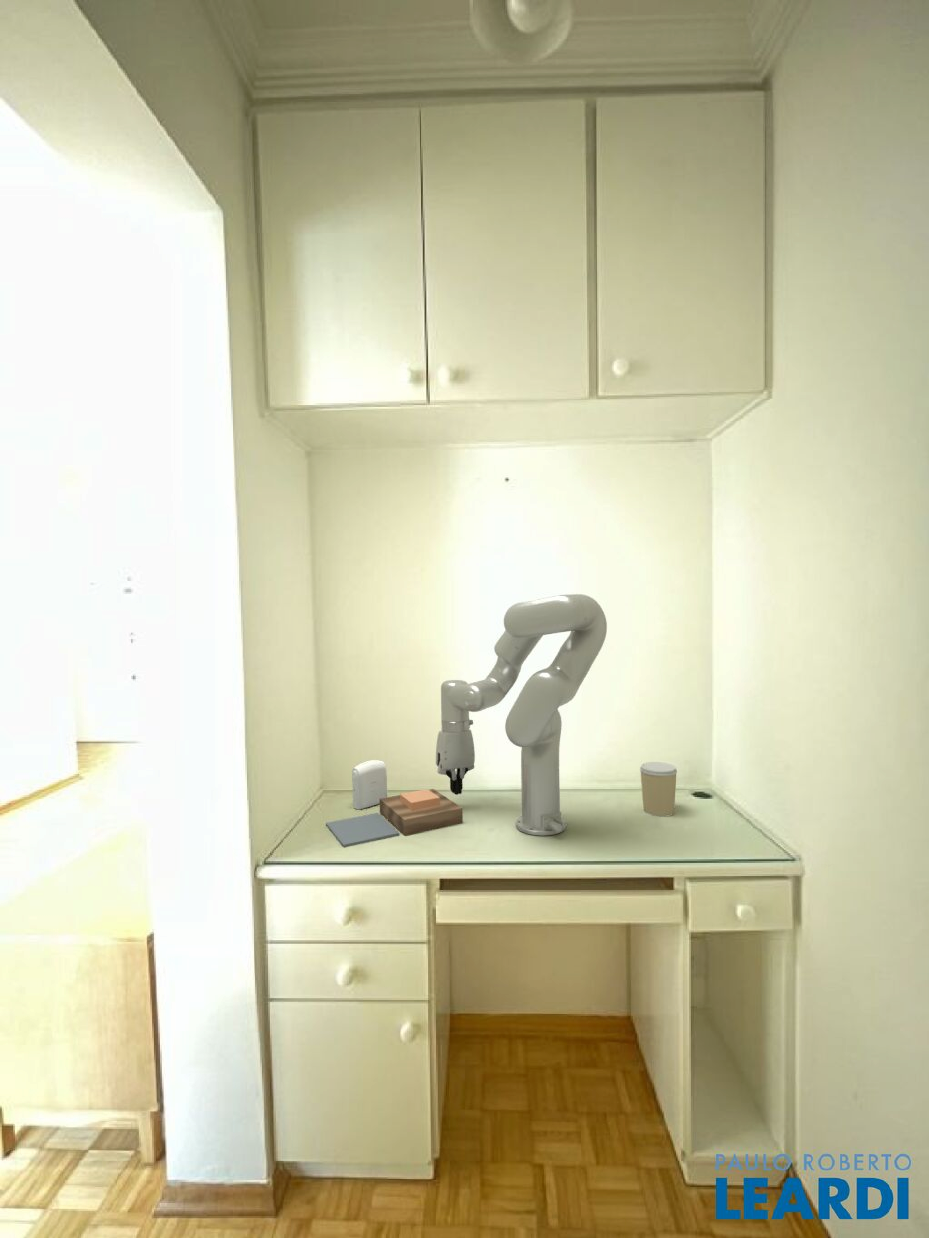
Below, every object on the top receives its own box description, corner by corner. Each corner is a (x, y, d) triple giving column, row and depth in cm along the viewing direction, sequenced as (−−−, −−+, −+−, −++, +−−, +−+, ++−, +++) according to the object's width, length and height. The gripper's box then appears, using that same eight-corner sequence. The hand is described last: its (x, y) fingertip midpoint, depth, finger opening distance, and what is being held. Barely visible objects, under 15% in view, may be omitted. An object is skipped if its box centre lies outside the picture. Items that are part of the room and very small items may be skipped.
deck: (462, 823, 155) (462, 807, 155) (404, 835, 148) (404, 819, 148) (433, 802, 171) (433, 788, 171) (379, 813, 164) (379, 798, 164)
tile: (439, 804, 158) (439, 797, 157) (411, 810, 154) (411, 802, 154) (427, 796, 165) (427, 789, 165) (400, 801, 161) (399, 793, 161)
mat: (399, 835, 148) (399, 832, 148) (343, 847, 142) (343, 844, 142) (377, 814, 162) (377, 812, 162) (325, 825, 156) (325, 822, 156)
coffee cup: (684, 812, 160) (684, 767, 159) (662, 820, 154) (661, 773, 154) (655, 802, 167) (655, 759, 167) (633, 810, 162) (632, 765, 162)
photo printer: (359, 811, 166) (357, 766, 165) (350, 807, 169) (349, 763, 168) (389, 801, 173) (388, 759, 172) (380, 798, 176) (379, 756, 175)
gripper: (473, 720, 170) (474, 784, 171) (424, 726, 163) (425, 793, 164) (486, 725, 164) (487, 792, 164) (436, 732, 157) (437, 801, 158)
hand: (456, 792), depth 164 cm, fingers closed
